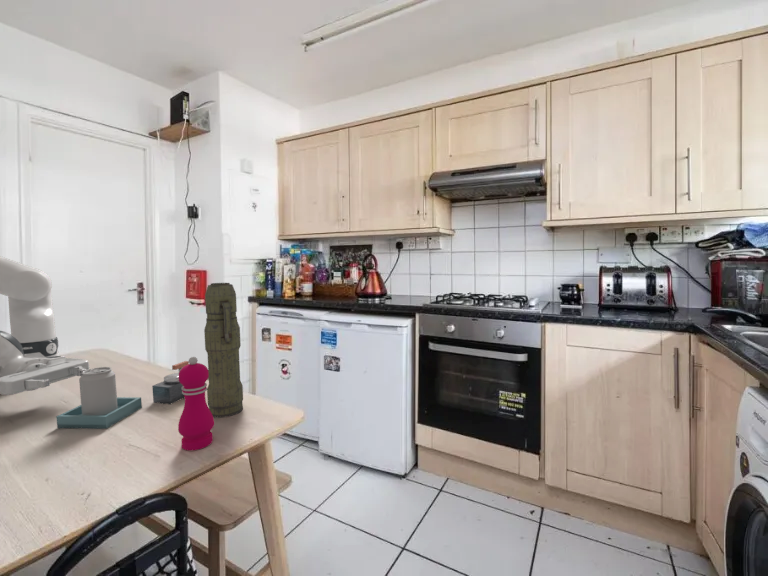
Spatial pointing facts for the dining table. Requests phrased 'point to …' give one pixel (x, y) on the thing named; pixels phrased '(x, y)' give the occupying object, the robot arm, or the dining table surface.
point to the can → (98, 391)
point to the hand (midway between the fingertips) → (66, 377)
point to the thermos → (223, 351)
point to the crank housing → (169, 387)
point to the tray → (78, 420)
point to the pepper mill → (195, 407)
